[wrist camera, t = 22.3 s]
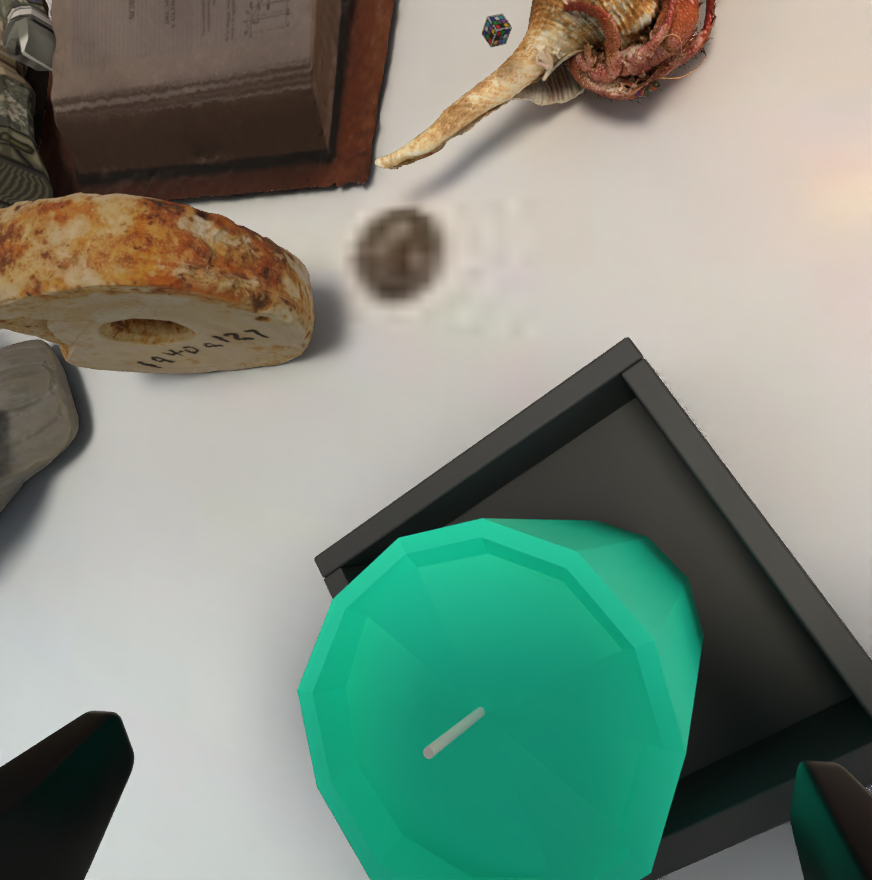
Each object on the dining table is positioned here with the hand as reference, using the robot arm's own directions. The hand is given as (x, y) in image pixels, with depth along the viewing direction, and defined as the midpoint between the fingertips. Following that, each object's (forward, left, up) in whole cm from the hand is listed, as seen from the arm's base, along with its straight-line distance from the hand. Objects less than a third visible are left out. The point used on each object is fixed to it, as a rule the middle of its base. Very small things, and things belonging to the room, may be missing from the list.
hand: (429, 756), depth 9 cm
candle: (0, 0, -12) cm, 12 cm away
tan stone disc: (+16, +6, -13) cm, 21 cm away
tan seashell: (+14, -12, -7) cm, 20 cm away
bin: (0, 0, -12) cm, 12 cm away
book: (+34, -3, -12) cm, 36 cm away
